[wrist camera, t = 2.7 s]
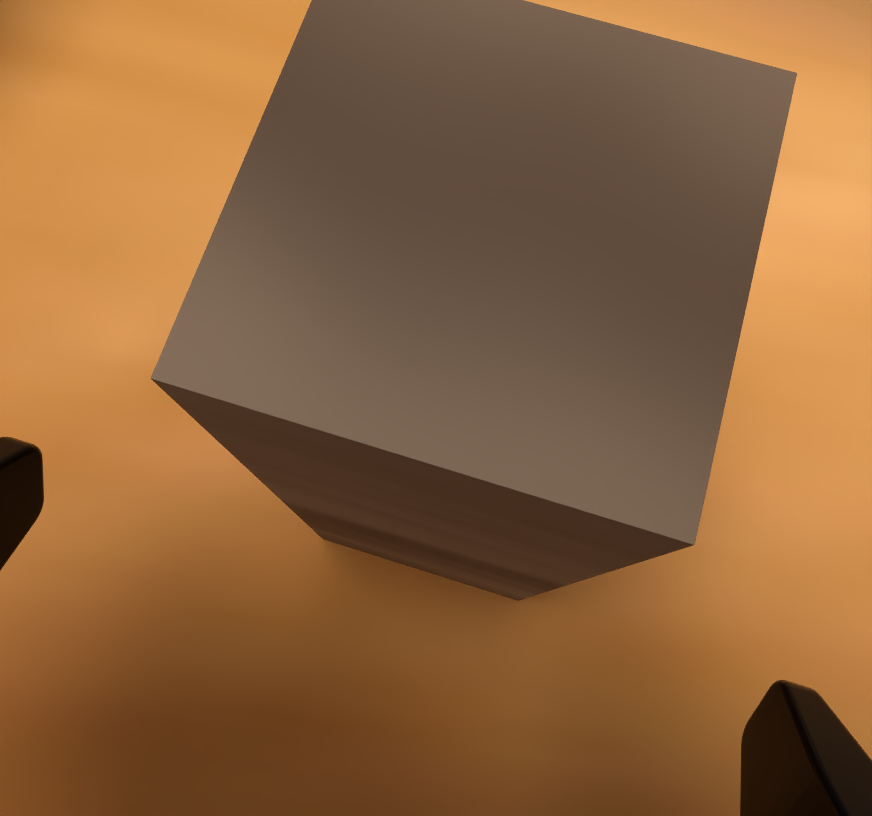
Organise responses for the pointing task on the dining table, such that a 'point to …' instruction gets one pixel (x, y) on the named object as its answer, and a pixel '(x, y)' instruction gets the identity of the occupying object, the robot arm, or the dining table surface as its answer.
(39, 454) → the robot arm
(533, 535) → the walnut block
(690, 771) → the dining table surface
